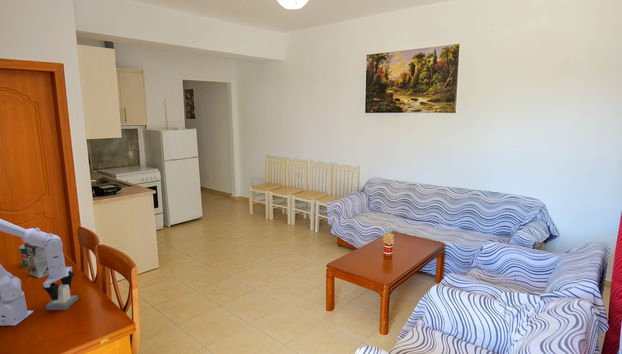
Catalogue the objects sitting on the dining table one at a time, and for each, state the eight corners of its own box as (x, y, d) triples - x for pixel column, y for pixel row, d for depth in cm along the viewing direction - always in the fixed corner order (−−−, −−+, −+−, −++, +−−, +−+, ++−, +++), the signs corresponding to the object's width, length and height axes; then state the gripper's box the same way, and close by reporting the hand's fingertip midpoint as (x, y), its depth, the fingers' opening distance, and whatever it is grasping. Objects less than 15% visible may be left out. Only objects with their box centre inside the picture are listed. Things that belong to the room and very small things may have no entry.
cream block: (64, 302, 152) (62, 289, 151) (54, 302, 152) (52, 289, 151) (70, 297, 156) (68, 284, 155) (61, 297, 156) (59, 284, 155)
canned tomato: (38, 260, 198) (35, 241, 196) (43, 264, 194) (40, 244, 191) (20, 265, 192) (17, 245, 190) (25, 269, 188) (21, 249, 185)
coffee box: (28, 274, 182) (23, 243, 179) (43, 269, 188) (38, 239, 185) (38, 278, 178) (33, 247, 175) (53, 273, 184) (48, 242, 181)
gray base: (66, 309, 151) (65, 305, 151) (46, 309, 151) (45, 305, 151) (78, 299, 159) (77, 295, 158) (59, 299, 159) (59, 295, 158)
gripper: (53, 272, 144) (59, 304, 147) (77, 257, 158) (81, 286, 161) (36, 272, 144) (41, 304, 147) (60, 257, 158) (65, 286, 161)
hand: (61, 294), depth 154 cm, fingers open, 7 cm apart
